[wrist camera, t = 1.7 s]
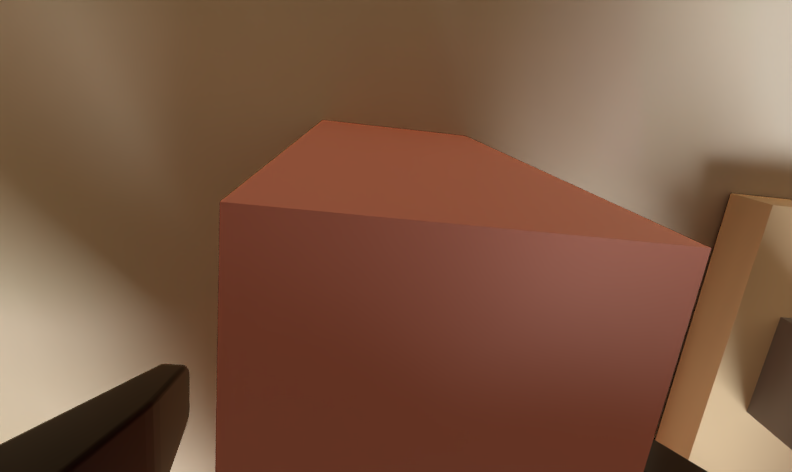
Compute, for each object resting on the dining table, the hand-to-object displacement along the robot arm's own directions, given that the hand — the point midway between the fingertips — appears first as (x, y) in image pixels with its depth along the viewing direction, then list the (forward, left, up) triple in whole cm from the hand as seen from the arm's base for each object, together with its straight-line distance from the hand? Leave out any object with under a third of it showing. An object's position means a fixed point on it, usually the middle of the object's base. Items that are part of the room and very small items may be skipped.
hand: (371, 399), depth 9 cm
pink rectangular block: (0, 0, -1) cm, 1 cm away
